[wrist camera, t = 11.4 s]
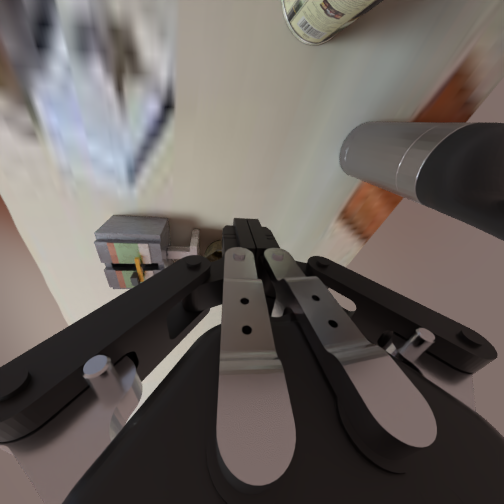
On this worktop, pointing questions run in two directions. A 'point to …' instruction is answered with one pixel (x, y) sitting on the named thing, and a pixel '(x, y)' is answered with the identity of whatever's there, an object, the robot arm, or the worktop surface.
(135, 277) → the block
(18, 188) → the worktop surface
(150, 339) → the robot arm
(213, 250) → the cup
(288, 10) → the coffee can
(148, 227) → the gauge housing
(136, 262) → the plunger
